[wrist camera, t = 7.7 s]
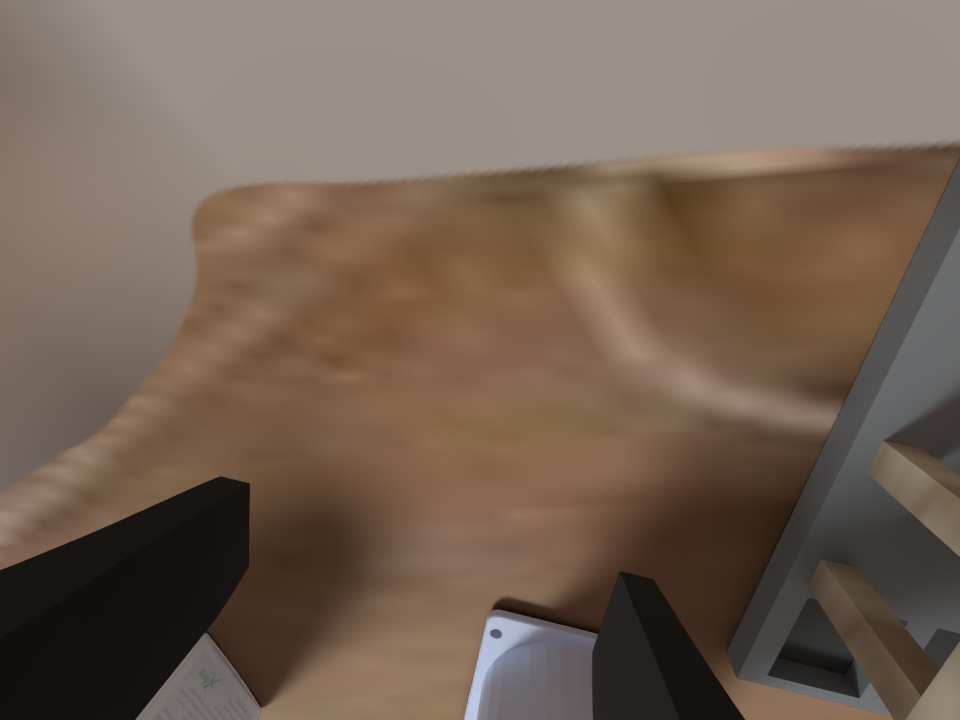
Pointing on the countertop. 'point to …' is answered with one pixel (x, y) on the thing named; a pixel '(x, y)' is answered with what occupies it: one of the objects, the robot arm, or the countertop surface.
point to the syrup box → (203, 690)
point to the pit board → (872, 495)
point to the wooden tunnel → (865, 616)
